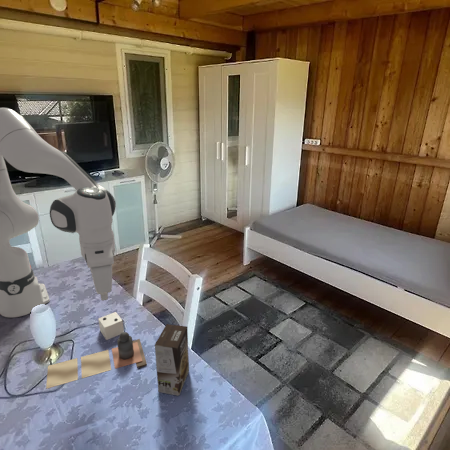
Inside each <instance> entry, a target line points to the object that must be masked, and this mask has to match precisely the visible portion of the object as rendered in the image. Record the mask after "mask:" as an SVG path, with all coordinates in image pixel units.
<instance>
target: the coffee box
mask: <svg viewBox="0 0 450 450" xmlns="http://www.w3.org/2000/svg"><path fill="white" fill-rule="evenodd" d="M188 335H189V333H188V326H185V325H176V324H169V323H167V324H165V326H164V328H163V330H162V331H161V333H160V335H159V337H158V338H157V340H156V341H155V343H154V350H155V351H154V353H155V354H154V355H155V366H156V367H155V368H156V377H157V379H156V380H157V392H158V393H163V394H167V395H173V396H177V397H178V396H180V395H181V392H182V390H183V388H184V385H185V382H186V380H187V377H188V375H189V372H190V364H189V363H190V359H189V336H188Z"/></svg>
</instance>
